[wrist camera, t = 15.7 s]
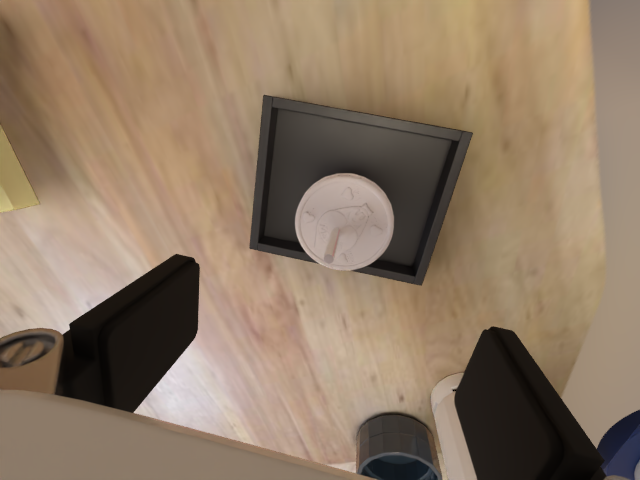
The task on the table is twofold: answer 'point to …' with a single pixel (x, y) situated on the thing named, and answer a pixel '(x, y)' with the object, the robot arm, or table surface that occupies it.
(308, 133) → the tray
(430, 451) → the bowl
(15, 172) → the slatted curved stool
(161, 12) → the table surface
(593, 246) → the table surface
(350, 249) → the smoothie
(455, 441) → the bottle
